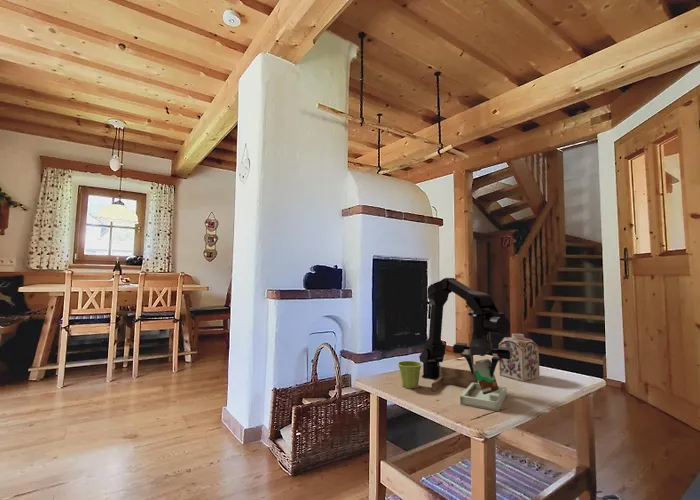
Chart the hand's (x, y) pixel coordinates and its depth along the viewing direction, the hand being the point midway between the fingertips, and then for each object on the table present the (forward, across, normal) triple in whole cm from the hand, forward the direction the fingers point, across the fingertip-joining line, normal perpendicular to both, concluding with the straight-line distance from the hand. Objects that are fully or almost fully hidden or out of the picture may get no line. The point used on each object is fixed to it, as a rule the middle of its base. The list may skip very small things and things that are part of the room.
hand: (482, 375), depth 120 cm
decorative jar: (+9, +8, +39) cm, 41 cm away
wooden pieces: (+9, -11, +7) cm, 16 cm away
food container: (+5, +3, +2) cm, 6 cm away
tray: (+8, 0, +2) cm, 9 cm away
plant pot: (+9, -27, +2) cm, 29 cm away
